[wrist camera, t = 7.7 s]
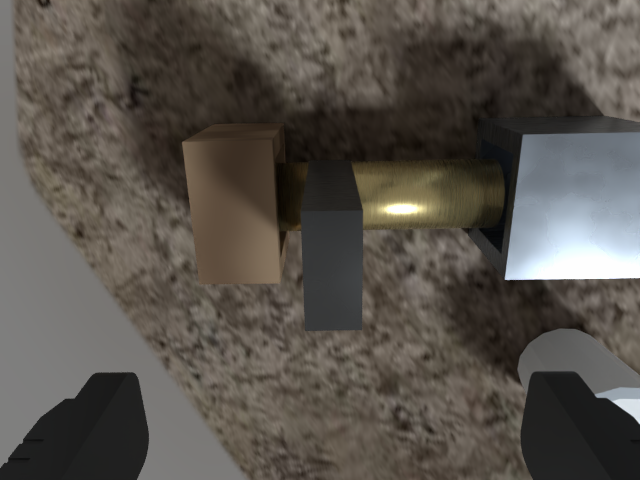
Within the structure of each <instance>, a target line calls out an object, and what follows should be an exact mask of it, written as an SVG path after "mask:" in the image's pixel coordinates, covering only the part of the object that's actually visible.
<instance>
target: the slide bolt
mask: <svg viewBox="0 0 640 480" xmlns="http://www.w3.org/2000/svg"><path fill="white" fill-rule="evenodd" d="M275 166H276V184H277V202H278V220H279V231H301V234H302V260H303V286H304V312H305V331H323V330H362V269H363V230H380V229H438V228H493V227H495V226H496V225H497V224H498V222H499V220H500V218H501V215H502V211H503V206H504V195H505V187H504V177H503V172H502V169H501V166H500V164H499V162H498V161H497V160H496V159H456V160H407V161H357V162H351V160H314V161H309V162H307V163H275Z"/></svg>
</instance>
